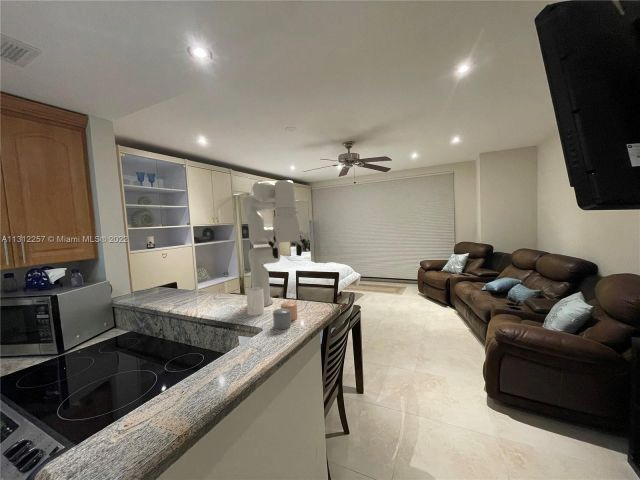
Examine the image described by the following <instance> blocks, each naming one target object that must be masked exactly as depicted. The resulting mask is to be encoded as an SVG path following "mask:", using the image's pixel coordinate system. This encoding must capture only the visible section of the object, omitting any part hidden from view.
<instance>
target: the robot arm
mask: <svg viewBox="0 0 640 480" xmlns="http://www.w3.org/2000/svg"><path fill="white" fill-rule="evenodd" d="M251 190H252V192H253V194H249V195H246V196H244V197H243V201H242V207H243V211H244V213H245V215H246V218H247V223H248V224H247V225H248V236H249V241H250V243H251V245H255V246H258V245H259V246H258V247H253V248H250V249H249V251H248V254H247V255H248V257H247V258H248V263H249V267H250V280H251V281H250V282H251V288H254V287H261V288H263V294H264V307H268V306H270V305H272V304H273V303H274V300H273V299H272V298H271V294H270V293H271V291H270V275H269V270H268V268H267V267H265V266H264V265H268V264H275V263H278V262H280V260H281V246H280V243H282V244H283V243H295V244H296V246H295V251H296V256H297V257H301V256H302V253H303V247H302V246H303V245H304V244H305V242H306V239H307V238H308V234H306V233H304V232H303V231H301V230H300V224H299V220H298V216H296V215H297V214H299V210H298V209H296V203H295V202H296V200H295V199H296V198H295V184H294V182H293V181H292V180H287V179H285V180H284V179H283V180H277V181H275V180H258V181H256V182H254V183H253V185H252V188H251ZM271 211H275V216H274V217H273V220H272V221H273V222H272V227H271V226H267V227H266V226H265V219H264V217H263V215H262V214H261V213H260V212H271ZM300 239H301V240H300ZM260 245H269V246H260Z"/></svg>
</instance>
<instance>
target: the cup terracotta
mask: <svg viewBox="0 0 640 480" xmlns="http://www.w3.org/2000/svg"><path fill="white" fill-rule="evenodd" d="M283 308H285V309H289V310H290V312H291V322H292V321H296V320H297V319H298V303H296V302H294V301H288V302H287V301H286V302H283V303H281V305H280V309H283Z"/></svg>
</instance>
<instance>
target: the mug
mask: <svg viewBox="0 0 640 480" xmlns="http://www.w3.org/2000/svg"><path fill="white" fill-rule="evenodd" d="M246 299H247V300H246V303H247V315H248V316H251V317H253V316H261V315H263V314H264V313H265V312H266V310H265V306H264V294H263V288H261V287H254V288H252V287H250V288H247V289H246Z"/></svg>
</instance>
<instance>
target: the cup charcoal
mask: <svg viewBox="0 0 640 480" xmlns="http://www.w3.org/2000/svg"><path fill="white" fill-rule="evenodd" d="M272 318H273V319H272V320H273V328H274V329H275V330H278V331H279V330H280V331H281V330H286V329H289V328H290V327H291V326H292V321H291V312H290V310H289V309H285V308H283V309H281V308H278V309H274V311H273V313H272Z"/></svg>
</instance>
